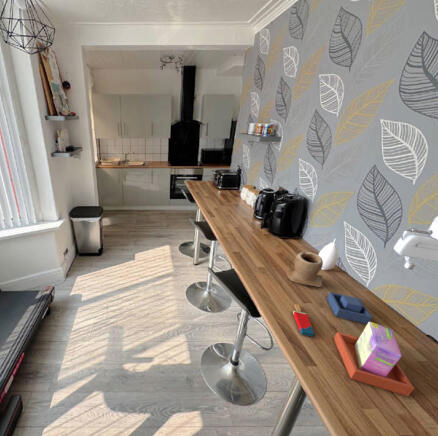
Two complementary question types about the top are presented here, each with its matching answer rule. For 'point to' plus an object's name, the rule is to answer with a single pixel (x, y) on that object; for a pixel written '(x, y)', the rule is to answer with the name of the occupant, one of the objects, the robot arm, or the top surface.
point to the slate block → (350, 304)
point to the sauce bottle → (329, 256)
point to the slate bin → (359, 317)
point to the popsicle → (303, 322)
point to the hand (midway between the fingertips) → (426, 271)
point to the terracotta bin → (391, 382)
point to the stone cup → (307, 269)
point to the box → (377, 350)
